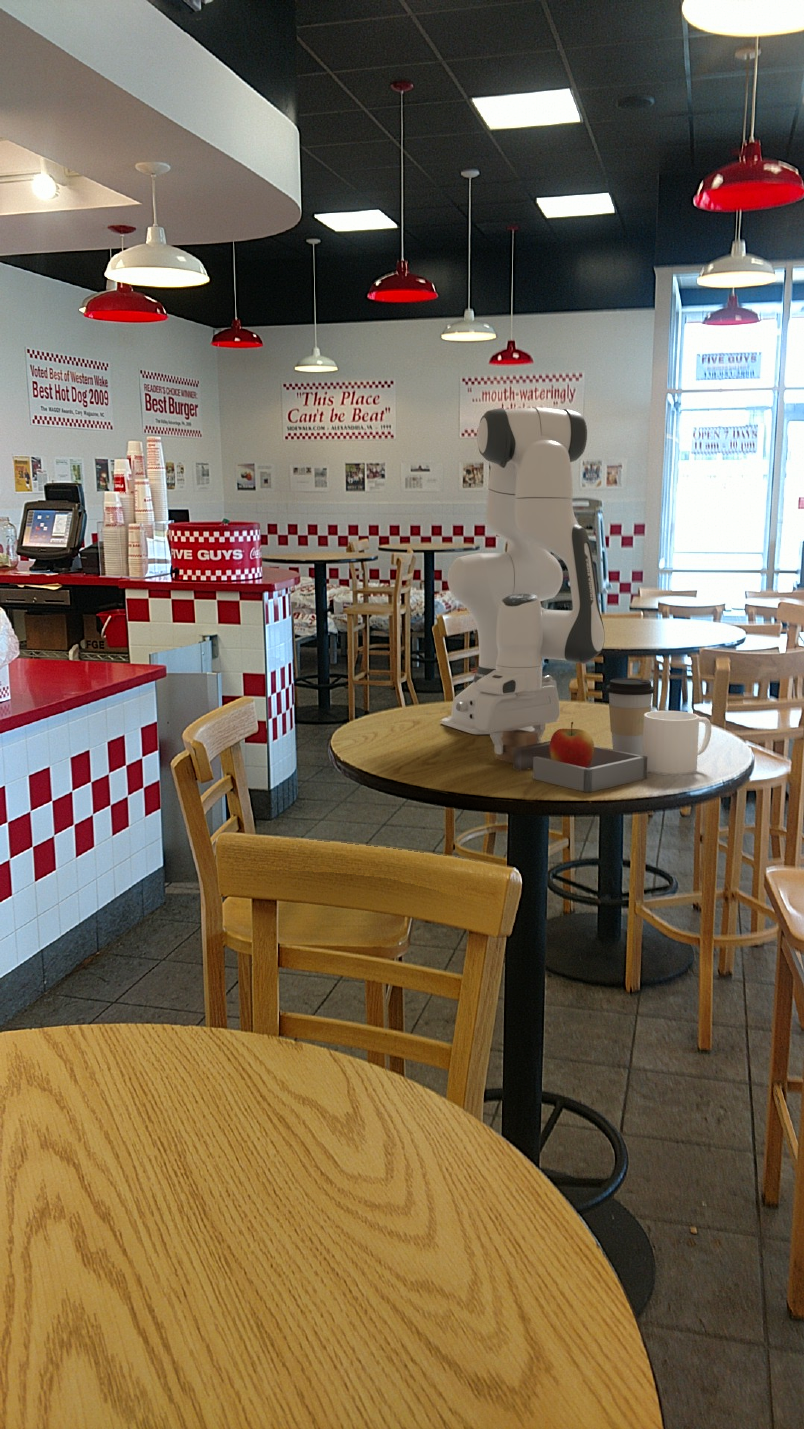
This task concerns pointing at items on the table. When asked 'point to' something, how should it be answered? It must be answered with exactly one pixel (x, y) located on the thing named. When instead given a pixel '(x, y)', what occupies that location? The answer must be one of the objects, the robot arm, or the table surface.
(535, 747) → the tan grey t-shaped block
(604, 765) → the tray
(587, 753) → the apple
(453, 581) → the robot arm
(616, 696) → the coffee cup
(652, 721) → the mug
